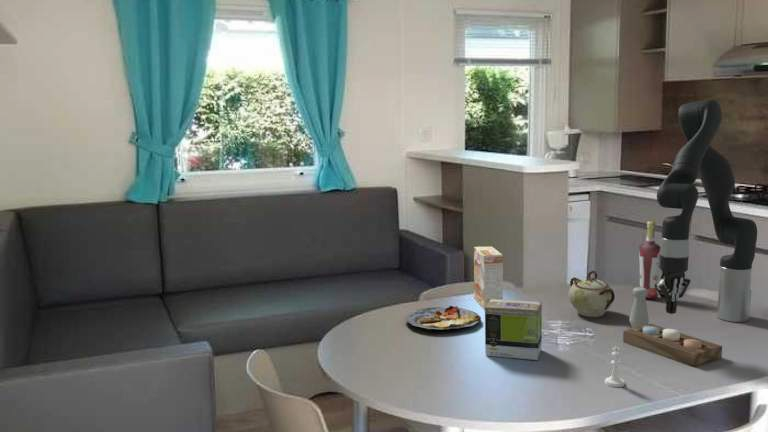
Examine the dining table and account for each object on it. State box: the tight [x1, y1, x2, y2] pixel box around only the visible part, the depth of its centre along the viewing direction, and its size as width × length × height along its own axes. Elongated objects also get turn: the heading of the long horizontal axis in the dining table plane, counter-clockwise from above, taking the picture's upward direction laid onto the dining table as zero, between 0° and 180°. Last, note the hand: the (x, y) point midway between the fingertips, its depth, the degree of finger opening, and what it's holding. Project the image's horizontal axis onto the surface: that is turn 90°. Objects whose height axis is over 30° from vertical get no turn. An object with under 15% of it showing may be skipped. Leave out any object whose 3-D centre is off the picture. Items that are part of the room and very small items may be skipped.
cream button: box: [662, 328, 681, 342], centre depth 201 cm, size 5×5×3 cm
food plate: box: [404, 305, 482, 331], centre depth 231 cm, size 25×23×4 cm
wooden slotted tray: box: [622, 323, 723, 368], centre depth 202 cm, size 12×24×4 cm, turn 30°
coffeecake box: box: [473, 245, 504, 311], centre depth 250 cm, size 15×7×20 cm, turn 6°
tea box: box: [484, 298, 543, 361], centre depth 201 cm, size 15×10×15 cm, turn 71°
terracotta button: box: [684, 339, 702, 350], centre depth 196 cm, size 5×5×3 cm
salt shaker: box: [628, 286, 650, 328], centre depth 220 cm, size 6×6×13 cm
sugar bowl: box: [567, 270, 616, 318], centre depth 236 cm, size 20×15×15 cm
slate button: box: [643, 326, 659, 336], centre depth 207 cm, size 5×5×3 cm
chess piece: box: [604, 345, 626, 388], centre depth 179 cm, size 5×5×10 cm
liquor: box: [638, 220, 661, 300], centre depth 252 cm, size 7×7×28 cm
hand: (670, 312), depth 200 cm, fingers closed
